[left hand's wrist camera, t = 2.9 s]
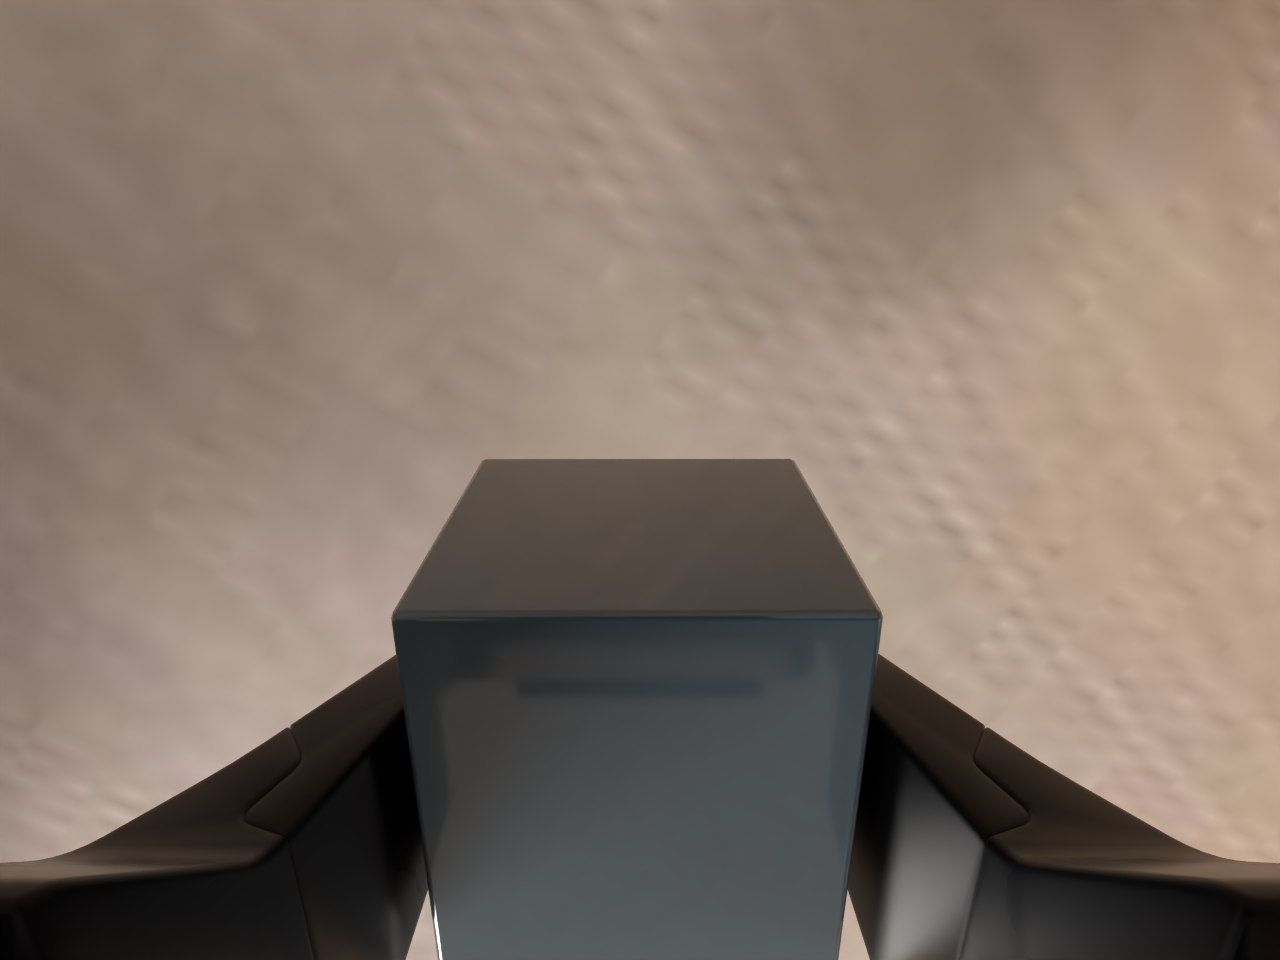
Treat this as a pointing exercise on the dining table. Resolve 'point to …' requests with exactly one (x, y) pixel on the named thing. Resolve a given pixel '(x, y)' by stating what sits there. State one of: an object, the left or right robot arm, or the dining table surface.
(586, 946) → the block
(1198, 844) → the dining table surface
